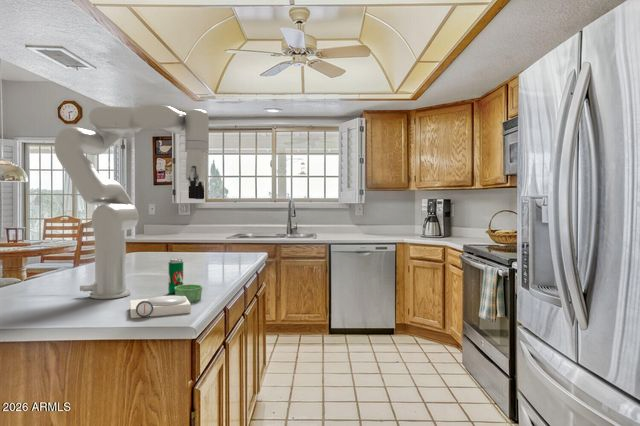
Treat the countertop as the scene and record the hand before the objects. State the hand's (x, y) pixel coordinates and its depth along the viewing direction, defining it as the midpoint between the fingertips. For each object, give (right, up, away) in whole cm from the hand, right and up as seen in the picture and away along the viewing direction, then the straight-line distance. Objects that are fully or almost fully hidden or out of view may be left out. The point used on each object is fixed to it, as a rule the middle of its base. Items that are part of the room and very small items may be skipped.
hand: (196, 198), depth 140 cm
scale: (-6, -34, -15) cm, 38 cm away
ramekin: (-3, -34, -1) cm, 34 cm away
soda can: (-10, -34, +9) cm, 36 cm away
